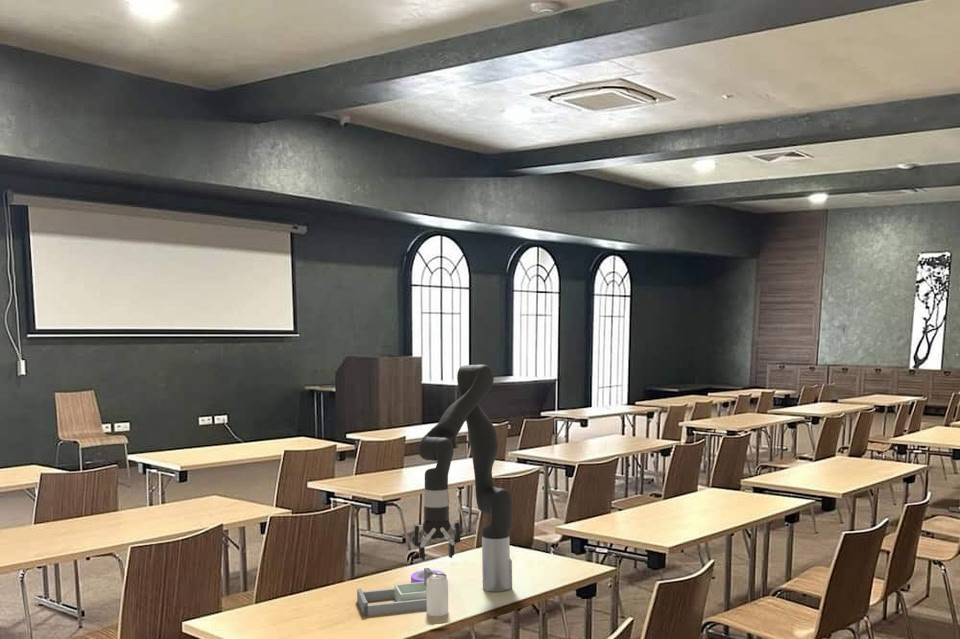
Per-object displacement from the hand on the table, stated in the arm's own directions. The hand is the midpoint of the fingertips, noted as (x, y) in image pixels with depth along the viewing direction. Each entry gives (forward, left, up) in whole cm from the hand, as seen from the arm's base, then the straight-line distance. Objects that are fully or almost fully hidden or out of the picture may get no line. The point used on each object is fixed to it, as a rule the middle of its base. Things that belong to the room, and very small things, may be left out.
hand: (436, 558), depth 229 cm
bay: (+10, -11, -17) cm, 23 cm away
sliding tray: (+5, -11, -16) cm, 20 cm away
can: (0, 0, -17) cm, 17 cm away
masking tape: (-4, -30, -18) cm, 35 cm away
